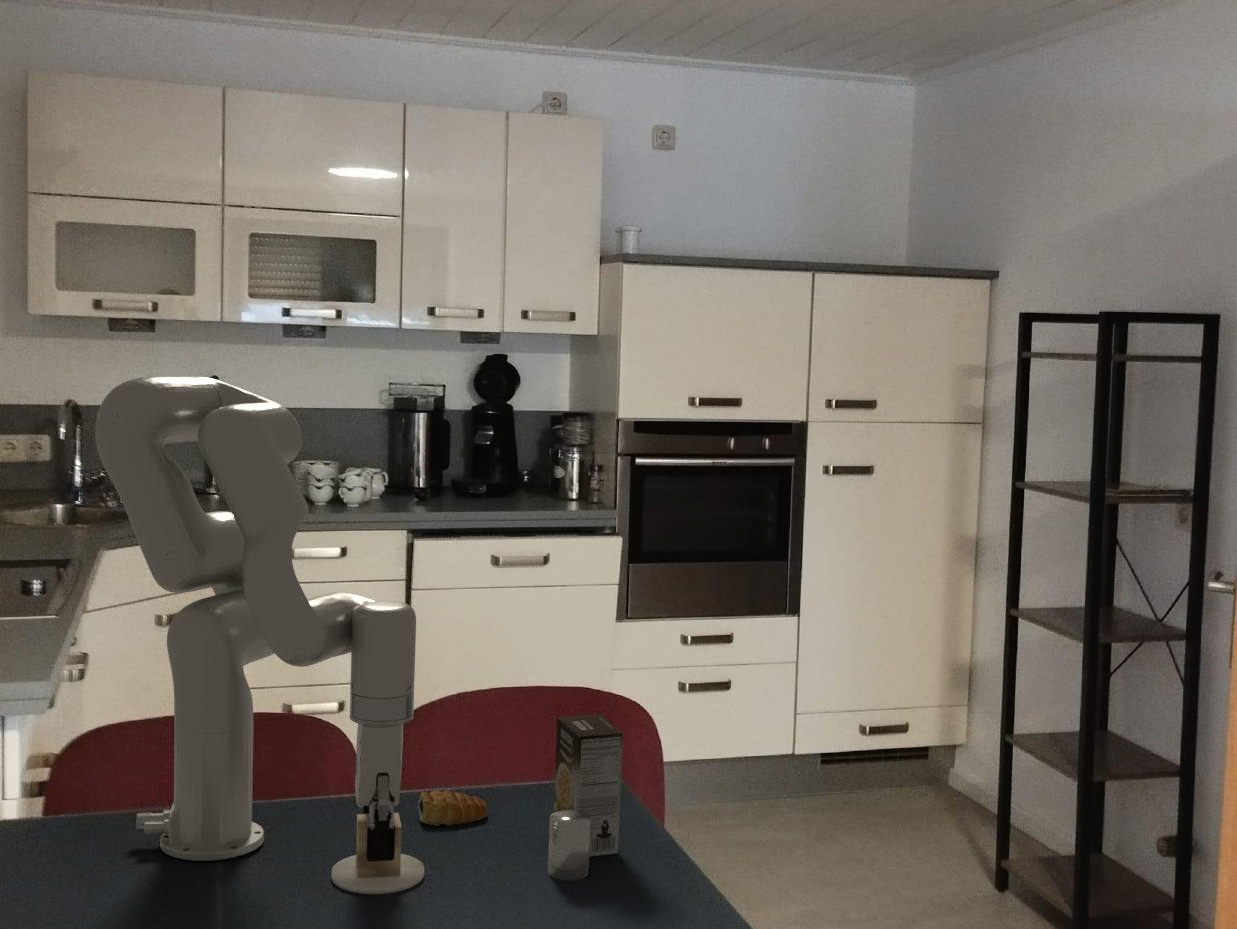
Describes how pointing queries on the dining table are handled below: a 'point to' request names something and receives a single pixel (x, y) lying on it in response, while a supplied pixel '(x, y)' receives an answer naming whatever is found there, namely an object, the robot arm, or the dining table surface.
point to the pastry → (450, 808)
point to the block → (376, 867)
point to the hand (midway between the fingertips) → (378, 844)
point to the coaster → (348, 879)
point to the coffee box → (590, 776)
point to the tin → (569, 845)
